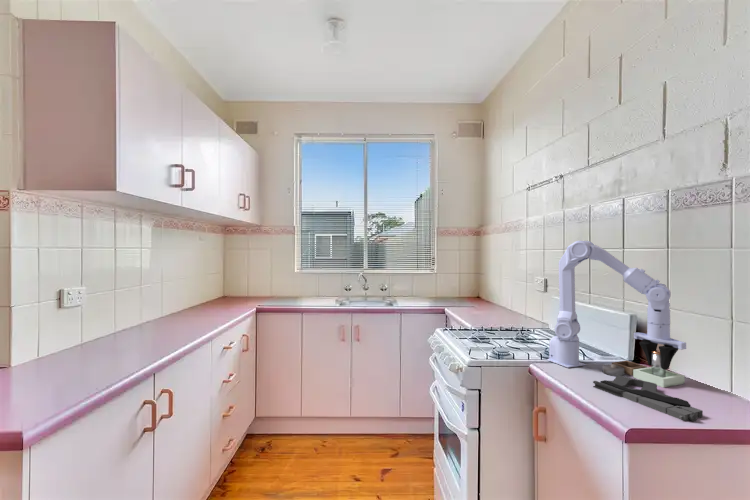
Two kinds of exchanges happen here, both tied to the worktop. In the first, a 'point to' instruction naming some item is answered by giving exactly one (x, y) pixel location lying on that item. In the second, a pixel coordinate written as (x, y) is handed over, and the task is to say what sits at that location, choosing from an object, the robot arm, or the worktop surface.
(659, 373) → the glass jar
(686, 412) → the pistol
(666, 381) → the tray
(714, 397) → the worktop surface
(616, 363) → the brown open box
